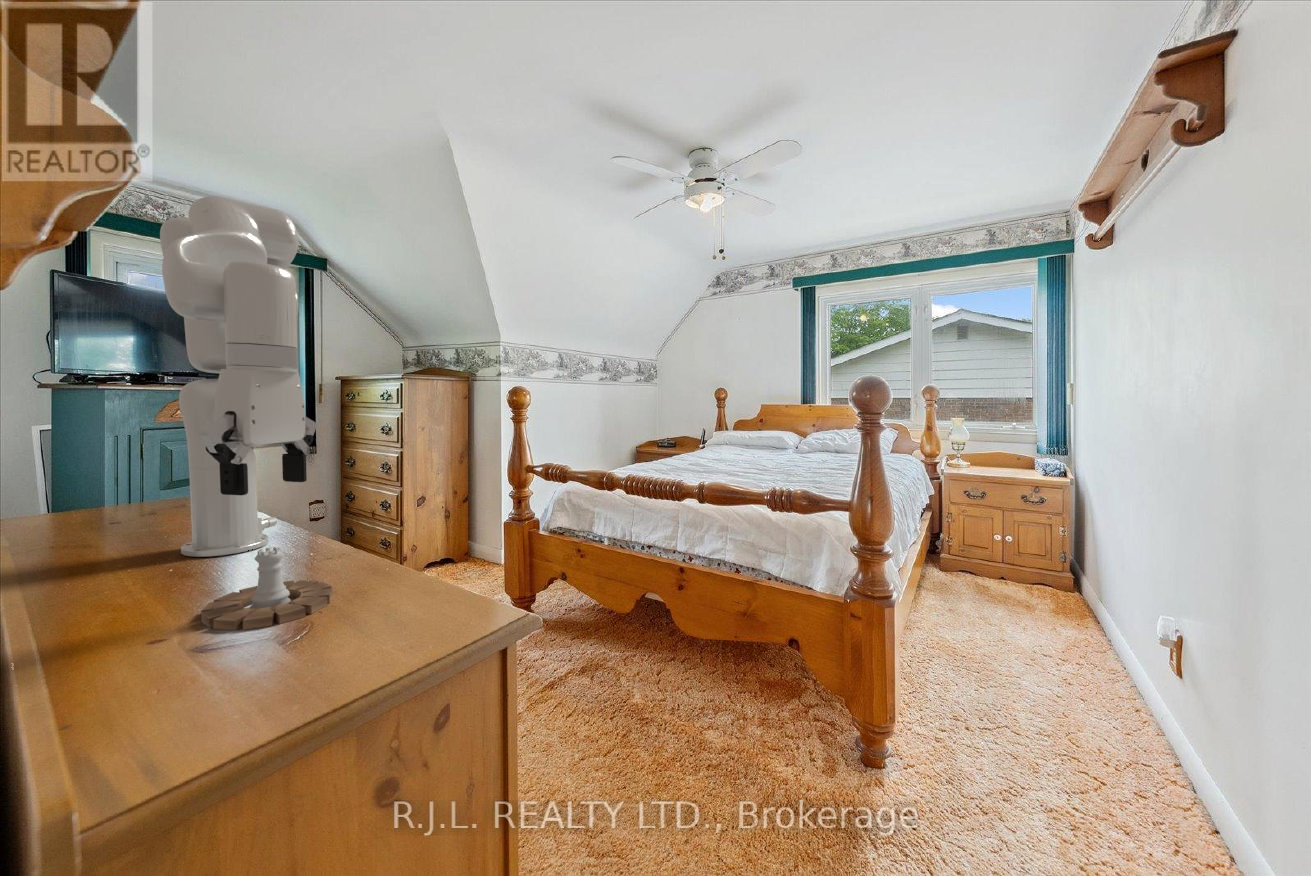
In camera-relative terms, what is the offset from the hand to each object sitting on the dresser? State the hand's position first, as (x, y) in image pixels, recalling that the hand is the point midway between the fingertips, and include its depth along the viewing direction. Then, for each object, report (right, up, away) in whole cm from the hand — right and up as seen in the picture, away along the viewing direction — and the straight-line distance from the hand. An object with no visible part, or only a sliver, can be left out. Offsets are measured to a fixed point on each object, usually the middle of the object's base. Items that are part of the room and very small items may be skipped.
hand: (266, 487), depth 69 cm
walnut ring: (0, -17, +1) cm, 17 cm away
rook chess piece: (0, -17, +1) cm, 17 cm away
